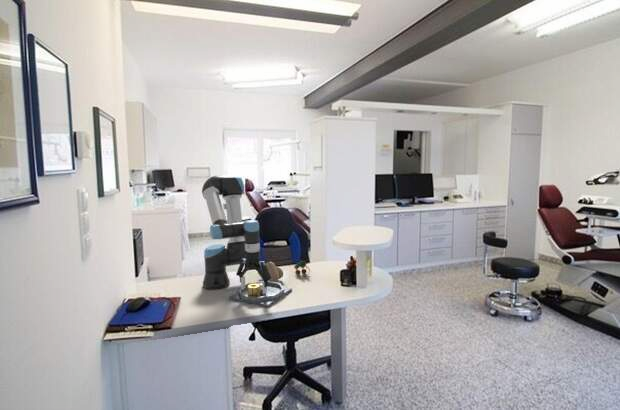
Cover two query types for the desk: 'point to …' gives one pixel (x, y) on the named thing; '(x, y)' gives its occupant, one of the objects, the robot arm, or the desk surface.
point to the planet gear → (254, 290)
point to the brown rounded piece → (274, 272)
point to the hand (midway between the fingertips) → (254, 290)
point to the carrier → (265, 300)
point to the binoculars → (302, 265)
